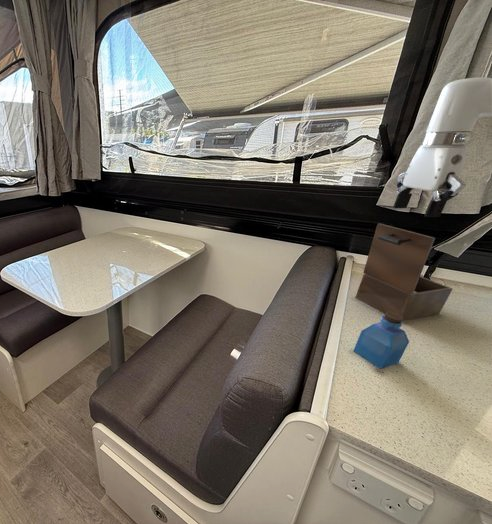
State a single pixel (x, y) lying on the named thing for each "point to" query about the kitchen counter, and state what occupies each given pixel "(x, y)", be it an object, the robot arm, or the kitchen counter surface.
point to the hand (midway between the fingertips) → (414, 212)
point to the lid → (398, 257)
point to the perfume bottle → (383, 341)
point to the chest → (404, 297)
